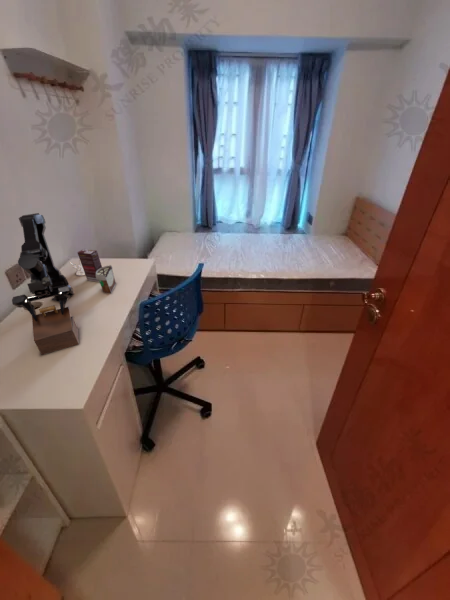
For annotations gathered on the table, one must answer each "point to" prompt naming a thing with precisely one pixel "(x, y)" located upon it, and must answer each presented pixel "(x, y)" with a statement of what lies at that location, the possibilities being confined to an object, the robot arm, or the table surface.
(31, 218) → the robot arm
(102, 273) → the food container
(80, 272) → the shell
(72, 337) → the caddy
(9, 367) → the table surface
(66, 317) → the brown wooden lid
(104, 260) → the table surface
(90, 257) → the supplement box
